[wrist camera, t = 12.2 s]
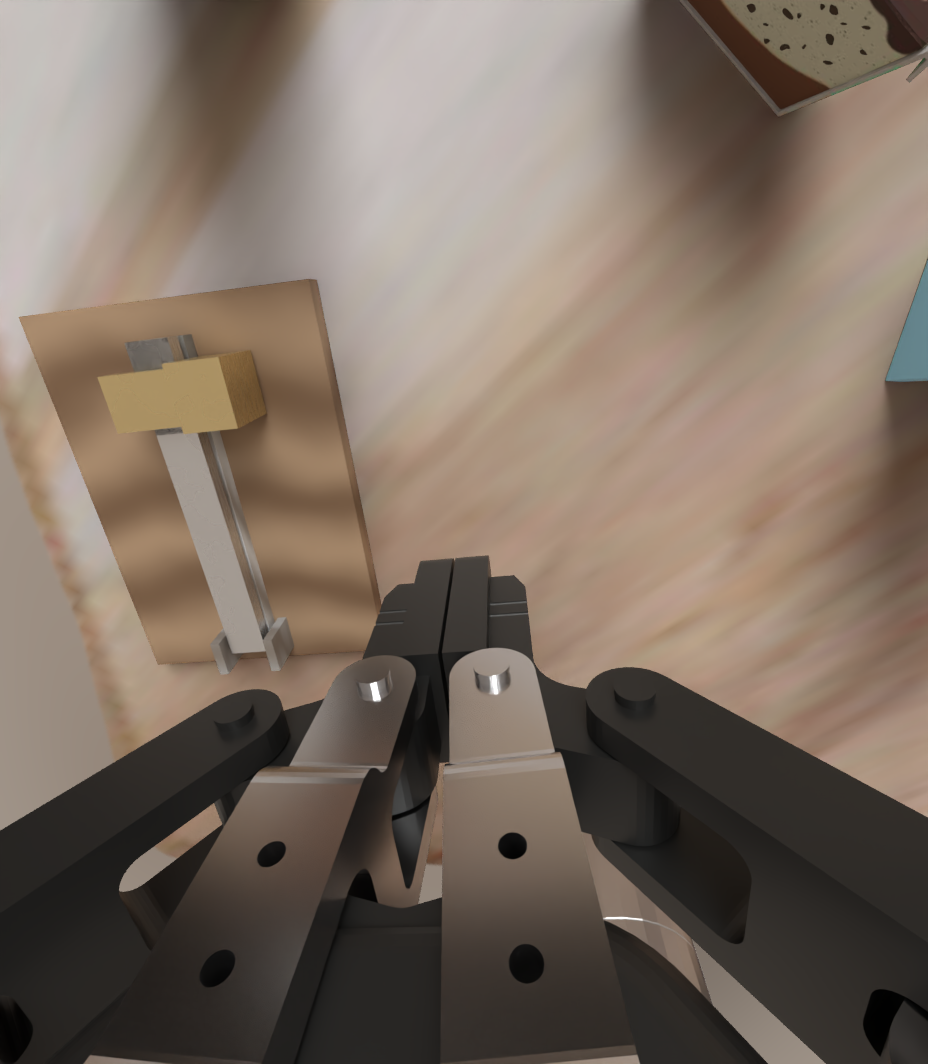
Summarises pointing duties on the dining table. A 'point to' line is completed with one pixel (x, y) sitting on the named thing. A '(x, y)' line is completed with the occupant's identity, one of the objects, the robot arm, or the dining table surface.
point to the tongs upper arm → (207, 513)
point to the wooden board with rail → (224, 472)
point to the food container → (814, 43)
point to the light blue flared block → (913, 340)
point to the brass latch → (187, 395)
